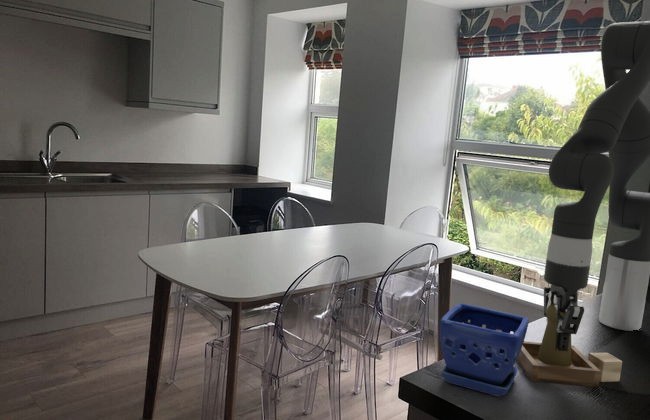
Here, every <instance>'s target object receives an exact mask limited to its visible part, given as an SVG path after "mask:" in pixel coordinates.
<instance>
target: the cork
mask: <svg viewBox="0 0 650 420" xmlns="http://www.w3.org/2000/svg"><path fill="white" fill-rule="evenodd" d="M565 314H566V313H562V312H561V311H560V315H561V316H563V318H564V317H565ZM545 318H546V319H548V322H547V321H546V326H545V330H544V334H543V337H542V339H541V342H540V343H541V346H540V350H539V353H538V359H539V361H541V362H542V363H545V364H548V365H559V366H571V346H572V334H570V337H569V344H568V350H567V352H566V351H561V350H558V348H557V349H556V336H557V323H558V320H557V319H556V310H555V304H551V305H549V306H548V307H547V310H546V317H545ZM562 323H563V321H562ZM555 349H556V350H555Z"/></svg>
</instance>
